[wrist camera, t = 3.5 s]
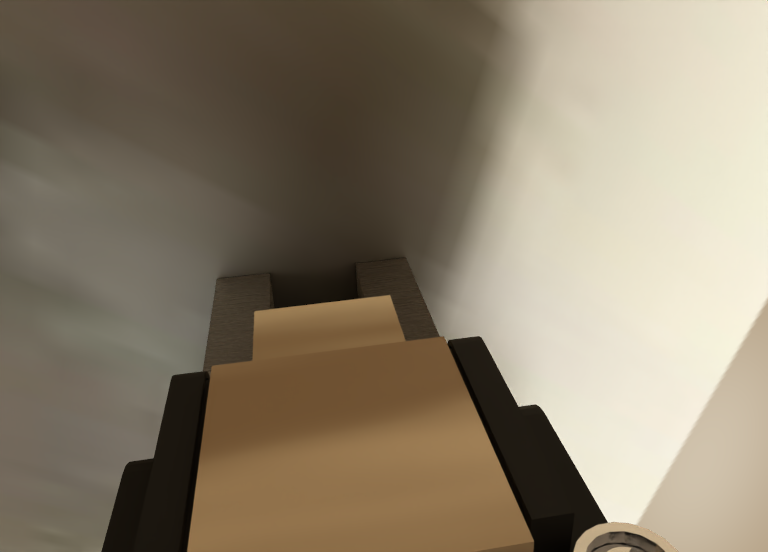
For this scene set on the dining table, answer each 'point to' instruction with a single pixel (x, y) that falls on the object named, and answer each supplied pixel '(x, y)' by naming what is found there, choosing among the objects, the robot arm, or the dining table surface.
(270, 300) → the bolt guide
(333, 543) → the bolt
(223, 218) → the dining table surface
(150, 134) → the dining table surface
